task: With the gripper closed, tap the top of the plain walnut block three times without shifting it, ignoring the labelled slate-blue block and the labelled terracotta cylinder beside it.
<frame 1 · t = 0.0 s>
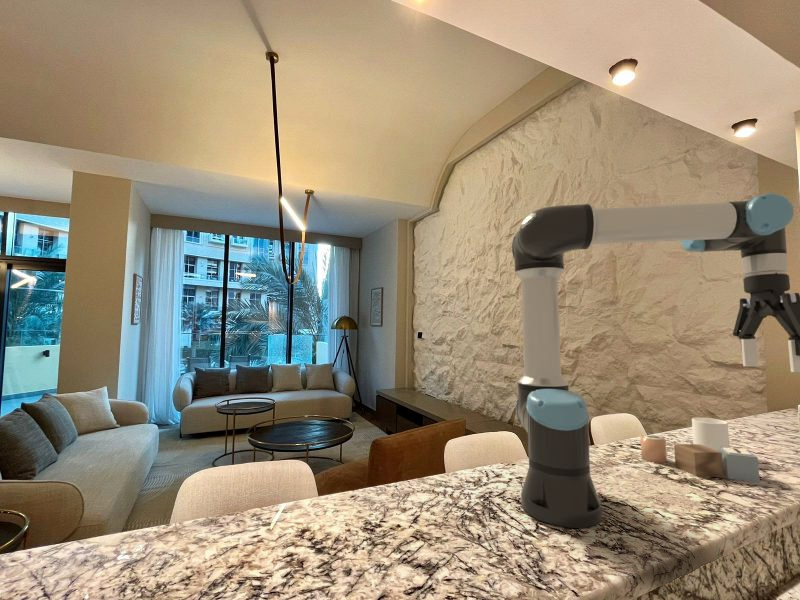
hand: (773, 369, 84), 28 cm above the counter, fingers open, 13 cm apart
terracotta cylinder: (654, 459, 107), on the counter
slate block: (738, 476, 95), on the counter
cup: (715, 455, 112), on the counter
walnut block: (698, 471, 98), on the counter
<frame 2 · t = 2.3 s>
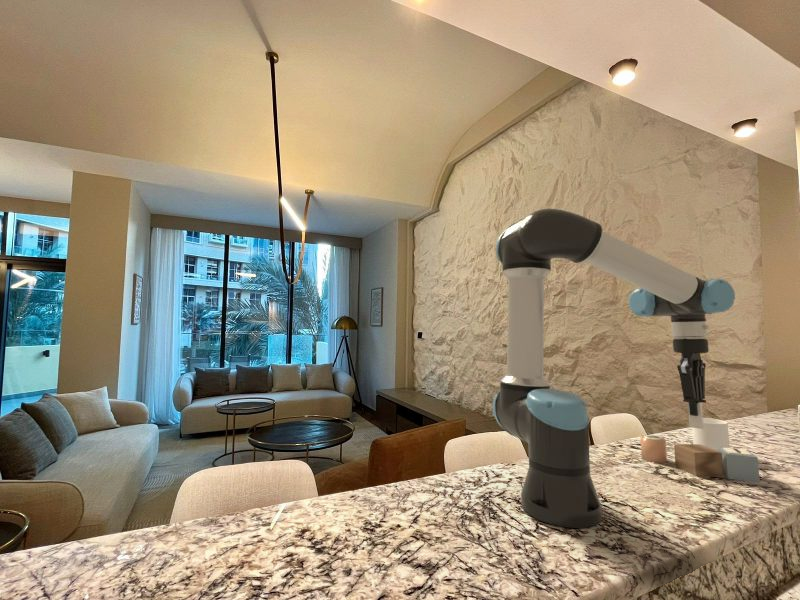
hand: (696, 427, 99), 11 cm above the counter, fingers closed
nothing on the counter moved.
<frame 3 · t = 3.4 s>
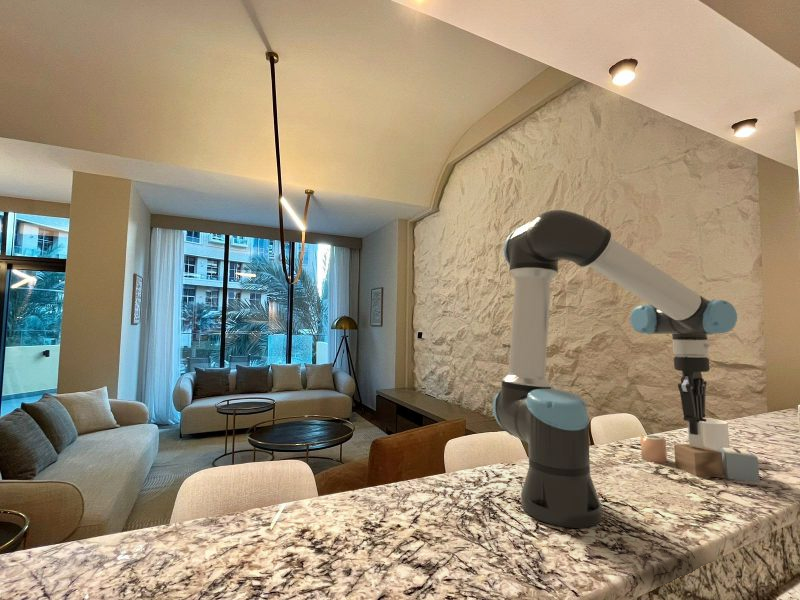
hand: (696, 446, 99), 6 cm above the counter, fingers closed
nothing on the counter moved.
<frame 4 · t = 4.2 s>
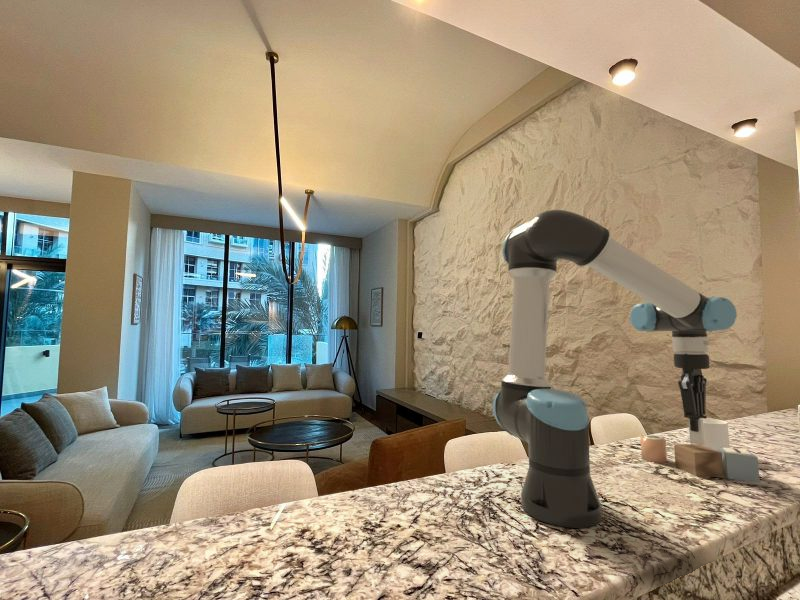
hand: (697, 443, 99), 7 cm above the counter, fingers closed
nothing on the counter moved.
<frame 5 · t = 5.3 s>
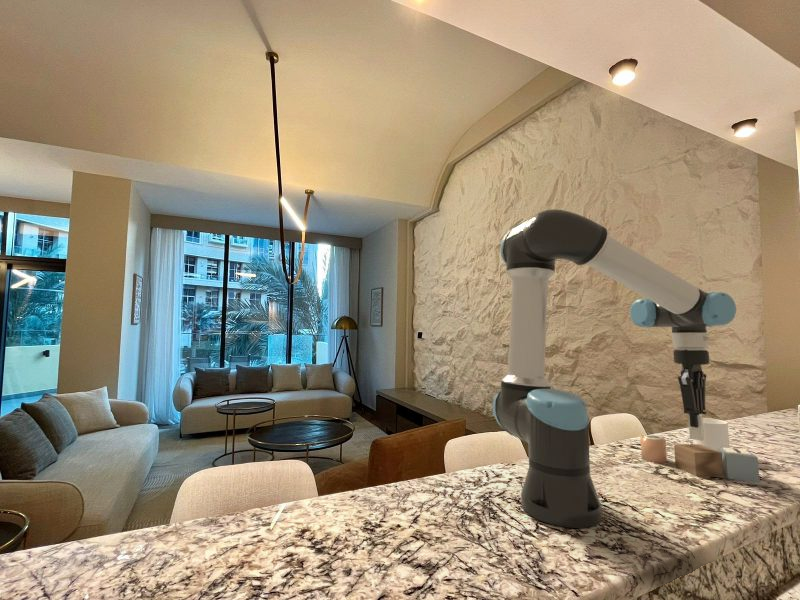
hand: (697, 439, 99), 8 cm above the counter, fingers closed
nothing on the counter moved.
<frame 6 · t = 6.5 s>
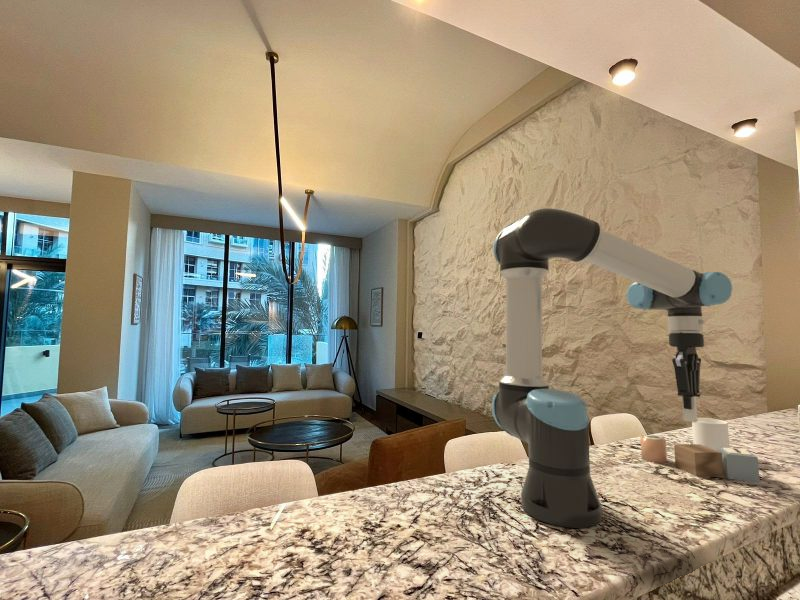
hand: (690, 421, 100), 13 cm above the counter, fingers closed
nothing on the counter moved.
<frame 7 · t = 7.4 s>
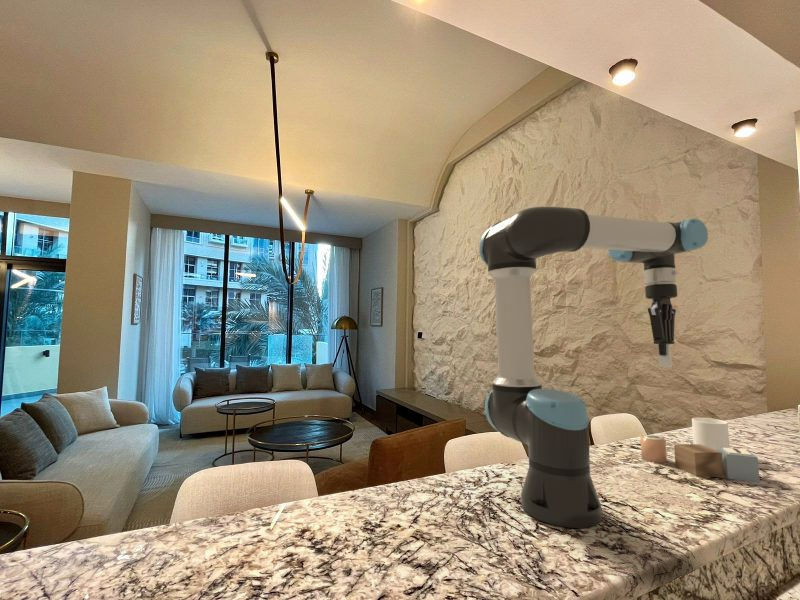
hand: (665, 367, 106), 26 cm above the counter, fingers closed
nothing on the counter moved.
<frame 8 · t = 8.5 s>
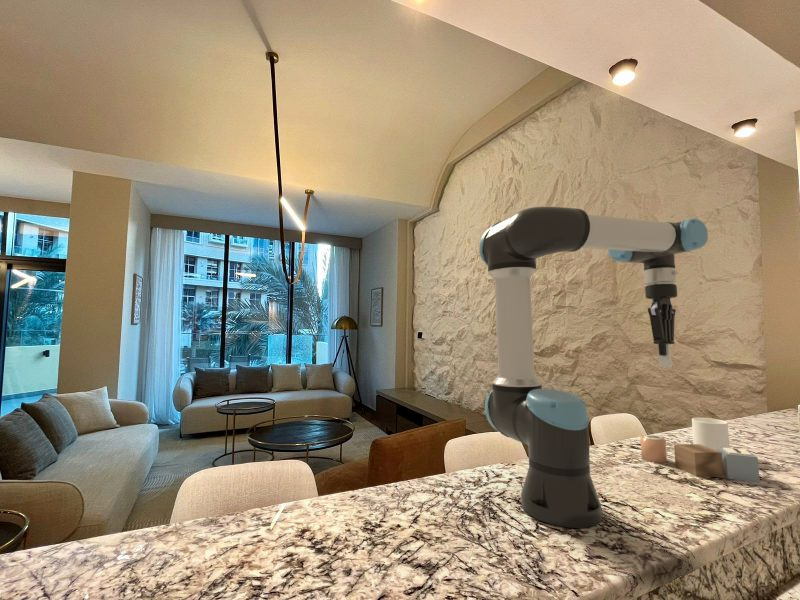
hand: (665, 367, 106), 26 cm above the counter, fingers closed
nothing on the counter moved.
at the end: walnut block moved 0.2 cm from its start; walnut block tilted 0°; slate block moved 0.1 cm from its start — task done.
